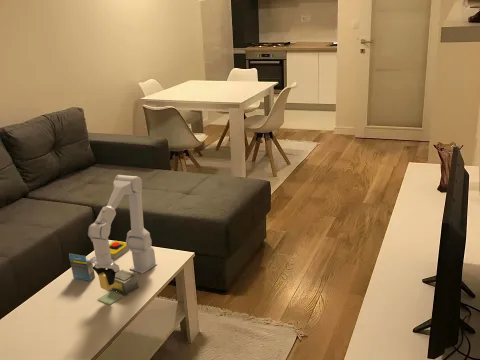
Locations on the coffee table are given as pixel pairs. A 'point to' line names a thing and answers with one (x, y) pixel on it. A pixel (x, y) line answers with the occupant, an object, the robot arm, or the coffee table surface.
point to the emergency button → (117, 249)
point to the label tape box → (81, 267)
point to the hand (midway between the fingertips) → (107, 282)
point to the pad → (110, 297)
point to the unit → (125, 282)
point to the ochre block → (105, 282)
